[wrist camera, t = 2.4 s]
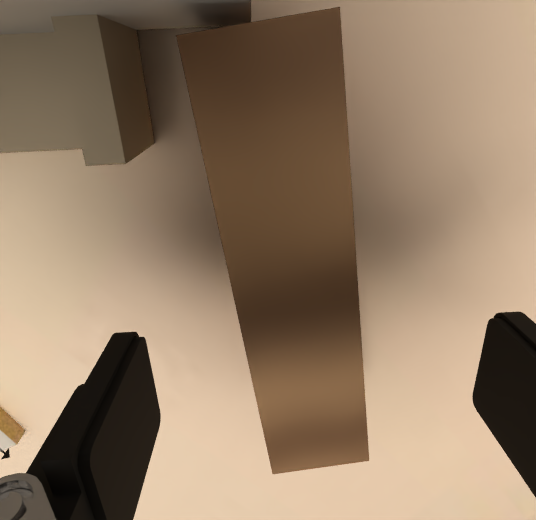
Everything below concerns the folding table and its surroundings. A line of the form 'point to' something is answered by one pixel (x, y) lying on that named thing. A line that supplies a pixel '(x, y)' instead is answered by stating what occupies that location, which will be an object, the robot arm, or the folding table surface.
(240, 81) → the rail
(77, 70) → the panel
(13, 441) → the grey flat board
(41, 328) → the folding table surface
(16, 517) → the robot arm
